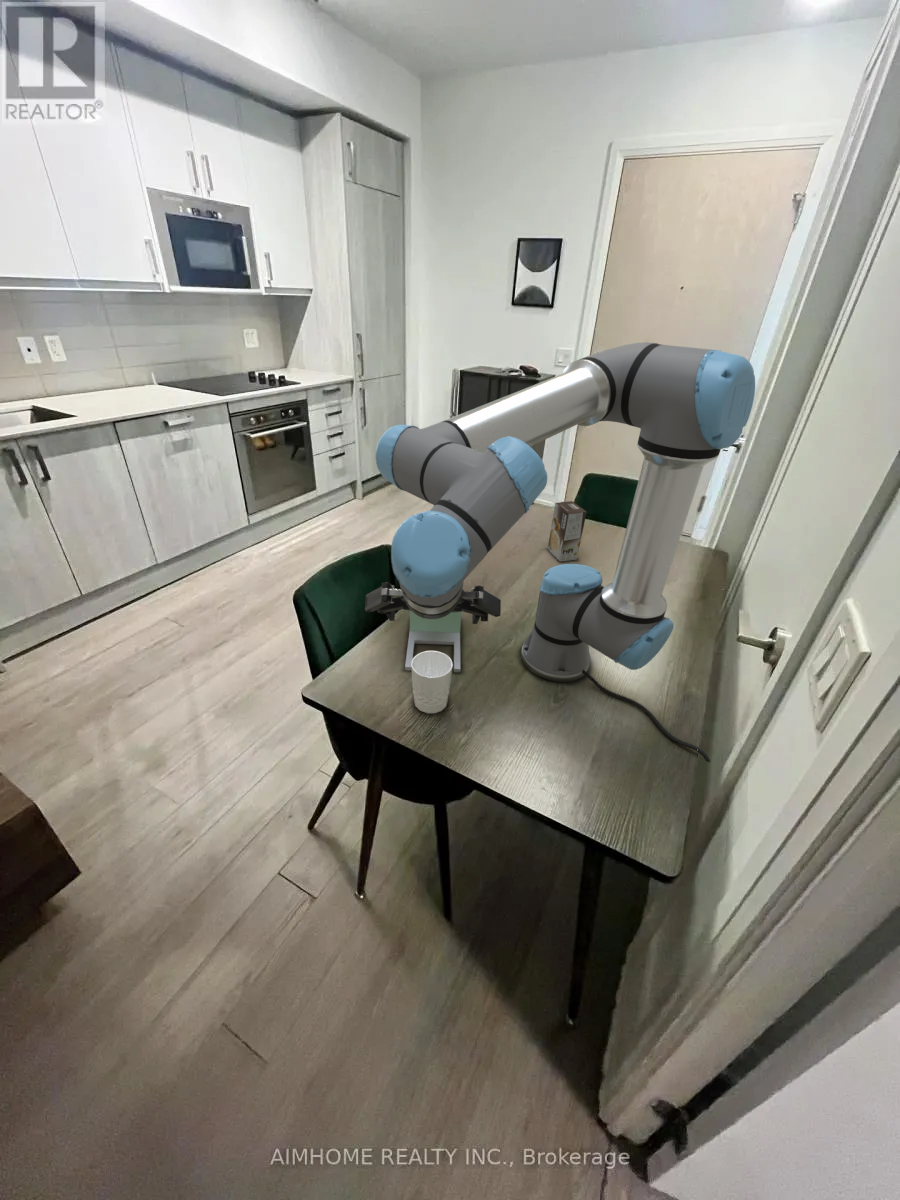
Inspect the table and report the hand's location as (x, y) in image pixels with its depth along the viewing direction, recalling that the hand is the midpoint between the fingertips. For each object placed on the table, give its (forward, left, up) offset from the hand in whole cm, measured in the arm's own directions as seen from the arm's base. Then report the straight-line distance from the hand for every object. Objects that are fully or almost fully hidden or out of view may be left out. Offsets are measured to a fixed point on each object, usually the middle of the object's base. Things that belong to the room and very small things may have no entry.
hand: (433, 614), depth 80 cm
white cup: (+3, -3, -25) cm, 25 cm away
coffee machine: (+17, -17, -25) cm, 34 cm away
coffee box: (+23, -78, -25) cm, 85 cm away
